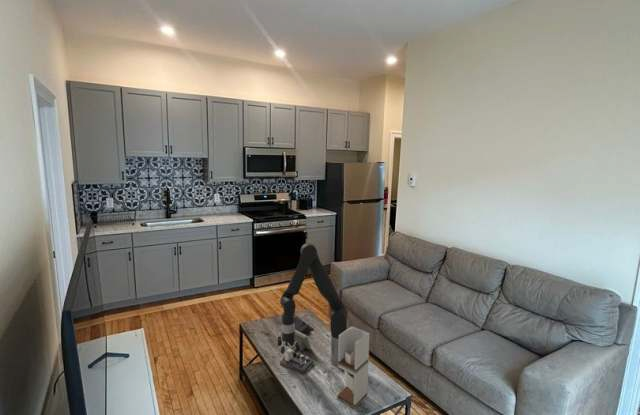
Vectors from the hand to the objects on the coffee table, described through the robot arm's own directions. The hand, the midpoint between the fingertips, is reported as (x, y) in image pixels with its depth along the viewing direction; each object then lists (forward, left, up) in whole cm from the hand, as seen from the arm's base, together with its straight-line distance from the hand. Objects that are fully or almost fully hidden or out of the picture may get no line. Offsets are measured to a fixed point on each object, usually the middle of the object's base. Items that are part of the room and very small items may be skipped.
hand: (288, 355), depth 197 cm
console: (-4, -2, -5) cm, 7 cm away
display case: (-44, +5, -6) cm, 44 cm away
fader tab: (0, 0, -3) cm, 3 cm away
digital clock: (+5, -18, -6) cm, 19 cm away
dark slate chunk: (+20, -36, -6) cm, 42 cm away
